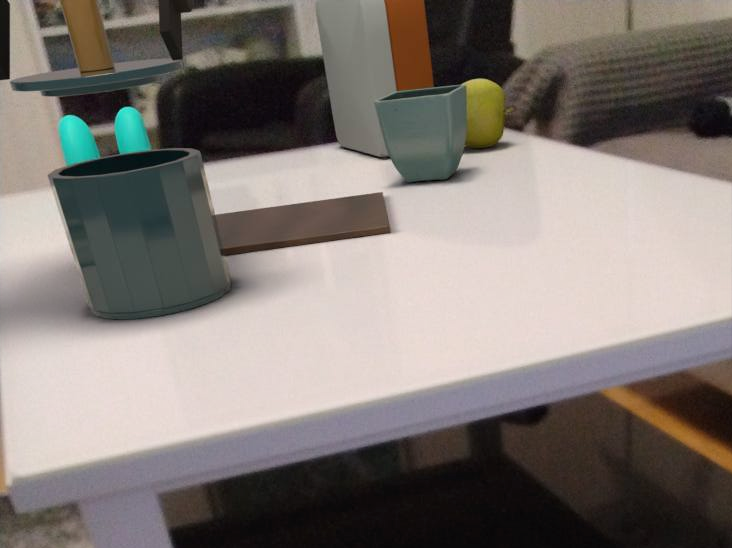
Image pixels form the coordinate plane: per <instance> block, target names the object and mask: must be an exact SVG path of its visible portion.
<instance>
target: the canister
mask: <svg viewBox="0 0 732 548" xmlns="http://www.w3.org/2000/svg"><path fill="white" fill-rule="evenodd" d="M201 153H202V152H201V151H200V150H198V149H195V148H190V147H189V148H187V147H186V148H185V147H170V148H169V147H168V148H157V149H151V150H146V151H139V152H131V153H124V154H120V153H118V154H114V155H107V156H102V157H101V156H100V158H96V159H92V160H88V161H83V162H79V163H75V164H71V165H68V166H67V165H66V166H62V167H60V168H56V169H53V171H51V172H49V173H48V174H47V179H48V182H49V185H50V188H51V192H52V194H53V197H54V200H55V204H56V207H57V210H58V213H59V216H60V219H61V222H62V226H63V229H64V232H65V235H66V238H67V240H68V244H69V248H70V251H71V254H72V257H73V261H74V264H75V267H76V271H77V273H78V277H79V280H80V283H81V286H82V289H83V292H84V295H85V298H86V303H87V305H88V306H89V308H90V311H91V313H92V314H93V315H94V316H96V317H99V318H102V319H107V320H108V319H109V320H137V319H147V318H155V317H160V316H165V315H171V314H176V313H180V312H185V311H189V310H191V309H196V308H198V307H201V306H204V305H206V304H209V303H211V302H213V301H216V300H219V298H221V297H223V296H225V295H226V294H227V293H228V292H229V291H231V290H230V289H231V285H232V284H231V275H230V272H229V268H228V263H227V259H226V255H225V254H224V250H223V246H222V242H221V237H220V233H219V229H218V225H217V220H216V216H215V215H216V212H215V208H214V203H213V200H212V194H211V192H210V187H209V182H208V179H207V173H206V171H205V165H204V161H203V157H202V154H201Z"/></svg>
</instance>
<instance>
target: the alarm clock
mask: <svg viewBox="0 0 732 548" xmlns="http://www.w3.org/2000/svg"><path fill="white" fill-rule="evenodd" d="M315 16H316V21H317V28H318V35H319V40H320V46H321V53H322V57H323V65H324V70H325V76H326V81H327V89H328V95H329V100H330V108H331V114H332V120H333V125H334V132H335V136H336V139H337V142H338V144H339V146H340V147H343V148H346V149H350V150H353V151H357V152H361V153H365V154H367V155H368V154H369V155H372V156H376V157H379V158H383V159H385V158H390V157H389V154H388V152H387V149H386V146H385V143H384V139H383V136H382V132H381V128H380V124H379V120H378V116H377V112H376V108H375V104H374V101H376V100H378V99H380V98H382V97H384V96H387V95H389V94H391V93H393V92H398V91H406V90H416V89H425V88H434V87H435V86H434V85H435V83H434V77H433V67H432V59H431V49H430V43H429V32H428V24H427V15H426V6H425V0H316V1H315Z"/></svg>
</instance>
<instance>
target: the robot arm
mask: <svg viewBox="0 0 732 548" xmlns="http://www.w3.org/2000/svg"><path fill="white" fill-rule="evenodd" d="M194 4H195V3H194V0H158V20H159V21H158V23H159V25H158V27H159V35H161V36H160V37H161V38H162V40H163V43H164V45H165V48H166V50H167V52H168V54H169V56H170V58H172V60H173V61H174V60H182V61H183V59H184V57H183V55H184V54H183V31H182V14H185V13H191V12H192V11H193V8H194V7H195V5H194ZM6 80H11V3H10V2H9V0H0V81H6Z"/></svg>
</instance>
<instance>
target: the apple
mask: <svg viewBox="0 0 732 548" xmlns="http://www.w3.org/2000/svg"><path fill="white" fill-rule="evenodd" d="M460 85H466V90H467V130H466V139H465V145H464V147H465V146H466V147H469V148H472V149H473V148H474V149H484V148H489V147H493V146H494V145H496V144H497V143H498V142H499V141H500V140H501V139H502V137H503V136H504V133H505V132H504V128H505V123H506V115H507V114H509V113H512V112H514V111H515V109H514V107H511V106H510V108H508V109H506V110H505V107H506V102H507V97H506V92H505V91H504V90H503V88H502V87H501V86H500V85H499V84H497V83H496V82H494V81H492V80H490V79H486V78H475V79H473V78H472V79H470V80H467V81H465V82H463V83H461V84H460Z"/></svg>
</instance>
